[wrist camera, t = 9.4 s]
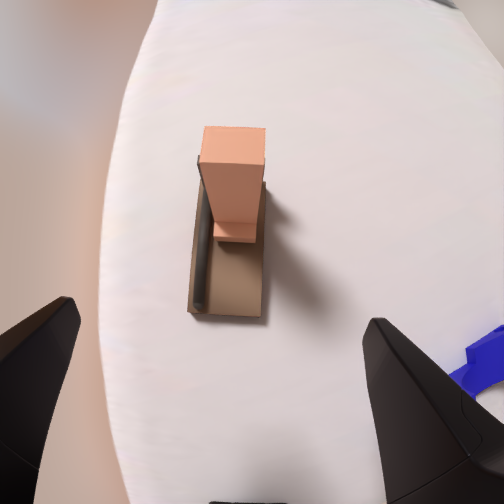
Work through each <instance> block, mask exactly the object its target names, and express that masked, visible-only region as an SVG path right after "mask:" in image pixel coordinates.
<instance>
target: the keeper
mask: <svg viewBox="0 0 504 504" xmlns="http://www.w3.org/2000/svg"><path fill="white" fill-rule="evenodd" d="M265 129H266V128H250V127H223V126H205V128H204V134H203V140H202V146H201V153H200V159H199V164H200V168H201V172H202V176H203V180H204V183H205V187H206V191H207V195H208V199H209V203H210V206H211V210H212V214H213V218H214V221H215V223H214V234H213V236H214V239H215V241H225V242H244V243H255V241H256V224H257V216H258V209H259V201H260V194H261V186H262V178H263V171H264V158H265Z"/></svg>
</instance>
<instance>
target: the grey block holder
mask: <svg viewBox="0 0 504 504" xmlns="http://www.w3.org/2000/svg"><path fill="white" fill-rule="evenodd" d="M199 159H200V155H198V161H197V166H198V169H199V173H200V177H201V179H200V186H199V194H198V202H197V211H196V220H195V229H194V238H193V248H192V259H191V270H190V282H189V294H188V308H187V312H190V313H202V314H216V315H232V316H250V317H260V314H261V292H262V269H263V245H264V219H265V191H266V182H263V178H262V186H261V194H260V201H259V209H258V216H257V224H256V241H255V243H244V242H225V241H215V239H214V236H213V234H214V223H215V221H214V218H213V214H212V210H211V206H210V203H209V199H208V195H207V191H206V187H205V183H204V180H203V176H202V172H201V168H200V164H199ZM264 168H265V158H264ZM263 175H264V171H263Z"/></svg>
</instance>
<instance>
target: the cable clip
mask: <svg viewBox="0 0 504 504" xmlns="http://www.w3.org/2000/svg"><path fill="white" fill-rule="evenodd" d="M465 349H466V355H467V364H465V365H464V366H462V367H461V368H459V369H457V370H456V371H454V372H452V373H451V374H449V376H450V377H451V378H452V379H453V380H454V381H455V382H456V383H457V384H458V385H459V386H460V387H461V388H462V389H464V390H465V391H466V392H467V393H468V394H469V395H470V396H471V397H472V398H473V399H474V400H475V401H476V397H475V396H476V395H477V394H478V393H480V392H481V391H482V390H484V389H486V388H487V387H489V386H491V385H493V384H495V383H498V382H500V381H503V380H504V325H501V326H499V327H498V328H496V329H495V330H493V331H492V332H490V333H489V334H487V335H486V336H484V337H483V338H481V339H480V340H478V341H477V342H475V343H473V344H472V345H470V346H469V347H467V348H465Z"/></svg>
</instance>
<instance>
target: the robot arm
mask: <svg viewBox="0 0 504 504" xmlns="http://www.w3.org/2000/svg"><path fill="white" fill-rule="evenodd" d="M80 324H81V317H80V314H79V312H78V309H77V306H76V304H75V301H74V299H73V298H71V297H65V296H61V297H59V298H57V299H56V300H54V301H53V302H51V303H49V304H48V305H46V306H45V307H43V308H41V309H40V310H38V311H37V312H35V313H34V314H32V315H30V316H29V317H27V318H26V319H24V320H23V321H21V322H20V323H18V324H17V325H15V326H14V327H12V328H10V329H9V330H7V331H6V332H4V333H3V334H1V335H0V504H33V502H34V496H35V489H36V483H37V479H38V473H39V468H40V463H41V459H42V454H43V450H44V446H45V441H46V438H47V434H48V430H49V426H50V423H51V419H52V416H53V413H54V409H55V406H56V402H57V399H58V396H59V393H60V390H61V387H62V384H63V381H64V378H65V375H66V372H67V370H68V367H69V363H70V360H71V357H72V352H73V349H74V345H75V341H76V338H77V334H78V331H79V328H80ZM362 345H363V353H364V361H365V370H366V380H367V388H368V393H369V398H370V403H371V408H372V413H373V418H374V423H375V428H376V434H377V439H378V445H379V451H380V457H381V463H382V470H383V477H384V484H385V492H386V500H387V504H504V424H503V423H501V422H500V421H499V420H498V419H496V418H495V417H494V416H493V415H491V414H490V413H489V412H488V411H487V410H486V409H484V408H483V407H482V406H481V405H480V404H479V403H478V402H477V401H475V400H474V399H473V398H472V397H471V396H470V395H469V394H468V393H467V392H466V391H465V390H464V389H462V388H461V387H460V386H459V385H458V384H457V383H456V382H455V381H454V380H453V379H452V378H451V377H450V376H449V375H448V374H447V373H446V372H444V371H443V370H442V369H441V368H440V367H439V366H438V365H437V364H436V363H435V362H434V361H433V360H431V359H430V358H429V357H428V356H427V355H426V354H425V353H424V352H423V351H422V350H420V349H419V348H418V347H417V346H416V345H415V344H414V343H413V342H412V341H410V340H409V339H408V338H407V337H406V336H405V335H404V334H403V333H401V332H400V331H399V330H398V329H397V328H396V327H395V326H394V325H392V324H391V323H390V322H389V321H388V320H387V319H385V318H372V319H371V320H370V322H369V324H368V327H367V329H366V331H365V334H364V336H363V341H362ZM209 504H265V503H229V502H215V501H213V502H210V503H209ZM269 504H286V503H269Z"/></svg>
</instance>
